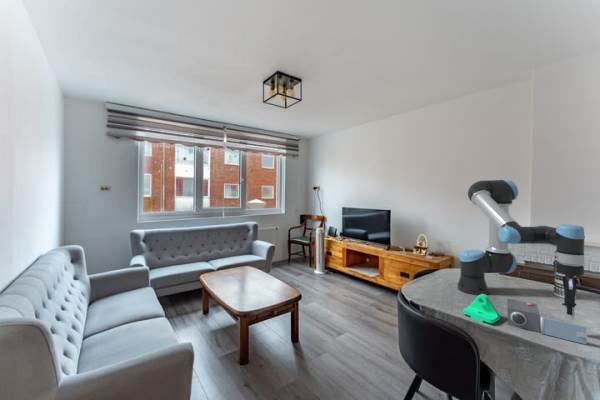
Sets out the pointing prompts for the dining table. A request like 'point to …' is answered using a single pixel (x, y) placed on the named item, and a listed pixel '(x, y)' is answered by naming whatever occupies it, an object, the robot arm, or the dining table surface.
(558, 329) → the side door
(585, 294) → the dining table surface
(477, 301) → the camera mount
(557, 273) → the decorative candle
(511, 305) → the housing
